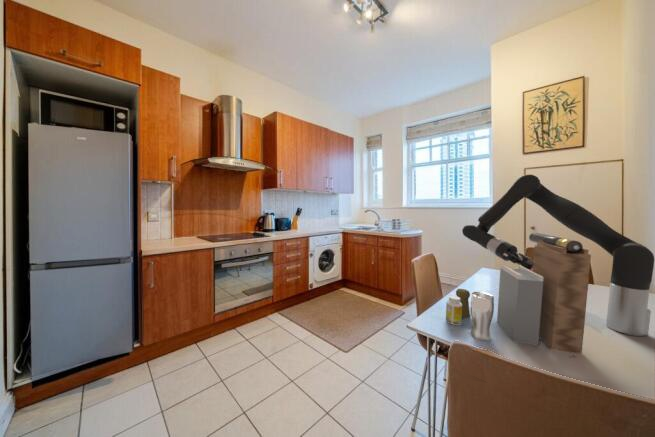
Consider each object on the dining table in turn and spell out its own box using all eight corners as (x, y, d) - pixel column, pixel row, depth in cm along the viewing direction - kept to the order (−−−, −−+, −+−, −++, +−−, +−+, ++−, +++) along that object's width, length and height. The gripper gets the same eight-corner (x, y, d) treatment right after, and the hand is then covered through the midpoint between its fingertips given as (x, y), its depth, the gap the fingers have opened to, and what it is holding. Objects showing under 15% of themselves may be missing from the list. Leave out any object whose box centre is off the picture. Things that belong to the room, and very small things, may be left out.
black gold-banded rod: (528, 241, 98) (529, 232, 98) (540, 242, 97) (541, 232, 97) (567, 253, 76) (569, 240, 76) (583, 254, 75) (585, 241, 75)
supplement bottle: (463, 322, 96) (464, 297, 96) (459, 327, 92) (460, 301, 92) (448, 317, 100) (449, 293, 99) (443, 322, 96) (444, 297, 95)
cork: (472, 319, 99) (473, 292, 98) (456, 317, 100) (457, 291, 100) (466, 312, 105) (468, 287, 104) (451, 311, 106) (453, 286, 105)
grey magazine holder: (517, 324, 95) (521, 266, 93) (538, 345, 81) (543, 276, 80) (496, 322, 97) (500, 264, 95) (513, 341, 83) (518, 275, 82)
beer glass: (470, 328, 92) (473, 290, 91) (492, 335, 87) (495, 294, 86) (467, 336, 86) (469, 295, 85) (490, 343, 82) (493, 300, 81)
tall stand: (553, 330, 91) (560, 242, 88) (581, 353, 77) (591, 250, 75) (528, 327, 93) (534, 241, 90) (551, 349, 79) (560, 248, 77)
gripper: (495, 239, 107) (532, 258, 92) (515, 243, 112) (554, 263, 97) (486, 253, 109) (521, 275, 95) (507, 257, 114) (543, 278, 100)
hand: (538, 269), depth 96 cm, fingers open, 8 cm apart
